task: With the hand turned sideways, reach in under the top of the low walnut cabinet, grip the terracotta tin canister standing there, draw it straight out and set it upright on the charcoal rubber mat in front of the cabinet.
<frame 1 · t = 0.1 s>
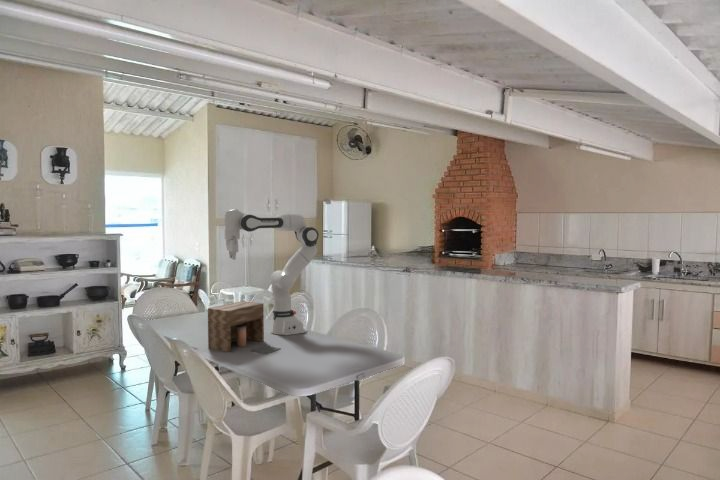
hand: (232, 258, 313), 48 cm above the table, tool pointing down, fingers open, 8 cm apart
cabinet: (236, 344, 297), on the table
mat: (265, 349, 286), on the table
canister: (241, 345, 295), on the table
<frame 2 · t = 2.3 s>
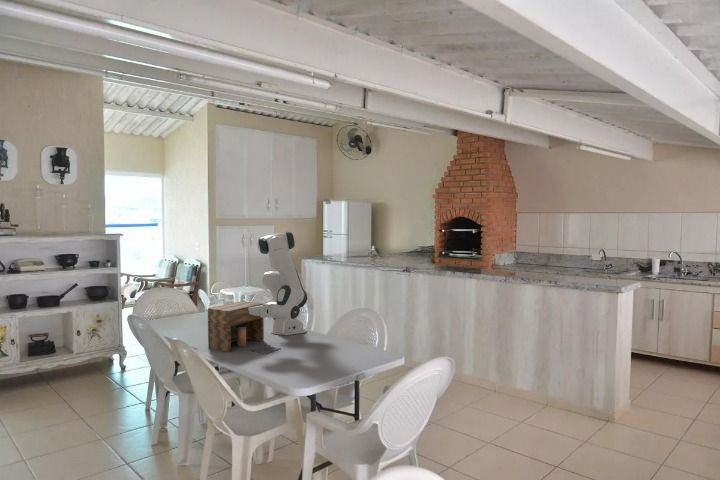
hand: (255, 307, 288), 23 cm above the table, tool horizontal, fingers open, 8 cm apart
nothing on the table moved.
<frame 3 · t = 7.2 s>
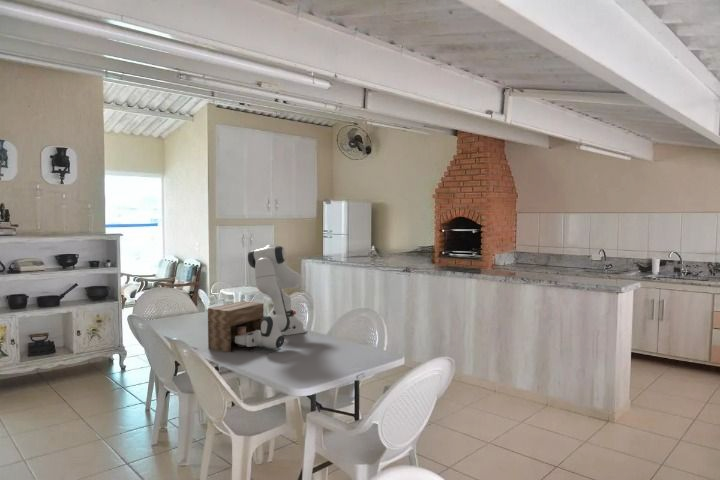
hand: (240, 334, 295), 6 cm above the table, tool horizontal, fingers closed on canister, 5 cm apart
canister: (241, 345, 295), on the table, touching gripper
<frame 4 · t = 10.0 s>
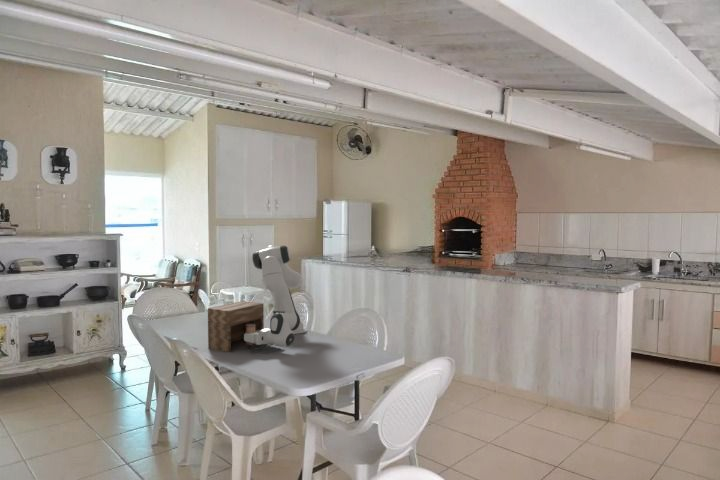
hand: (249, 332, 291), 8 cm above the table, tool horizontal, fingers closed on canister, 5 cm apart
canister: (250, 343, 291), point 2 cm above the table, touching gripper
when the fingers open (7 cm above the table, at t = 12.7 s): canister drops 1 cm, resting on mat.
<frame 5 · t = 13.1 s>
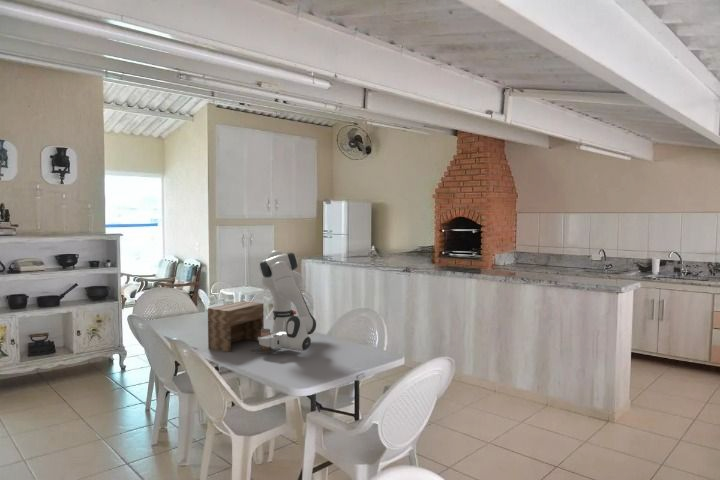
hand: (264, 336, 286), 7 cm above the table, tool horizontal, fingers open, 8 cm apart
canister: (265, 349, 285), resting on mat
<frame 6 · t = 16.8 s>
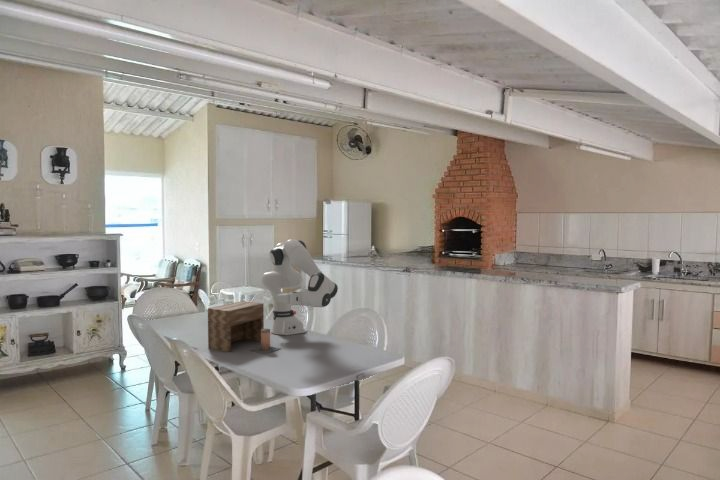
hand: (281, 294, 278), 32 cm above the table, tool horizontal, fingers open, 8 cm apart
nothing on the table moved.
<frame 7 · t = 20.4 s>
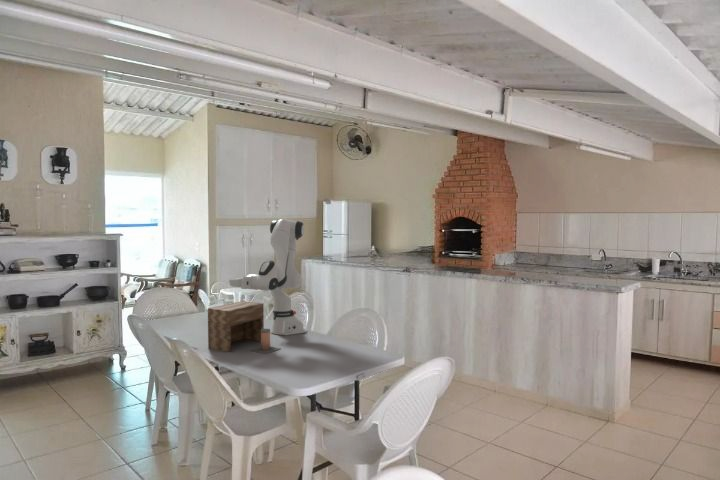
hand: (235, 280, 305), 36 cm above the table, tool horizontal, fingers open, 8 cm apart
nothing on the table moved.
at the end: canister inside the target area on the mat (0.0 cm from its centre), point 0.3 cm above the mat's base; canister tilted 0°; the gripper is holding nothing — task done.
